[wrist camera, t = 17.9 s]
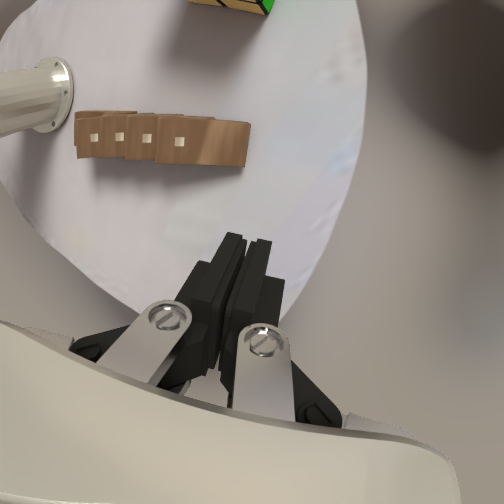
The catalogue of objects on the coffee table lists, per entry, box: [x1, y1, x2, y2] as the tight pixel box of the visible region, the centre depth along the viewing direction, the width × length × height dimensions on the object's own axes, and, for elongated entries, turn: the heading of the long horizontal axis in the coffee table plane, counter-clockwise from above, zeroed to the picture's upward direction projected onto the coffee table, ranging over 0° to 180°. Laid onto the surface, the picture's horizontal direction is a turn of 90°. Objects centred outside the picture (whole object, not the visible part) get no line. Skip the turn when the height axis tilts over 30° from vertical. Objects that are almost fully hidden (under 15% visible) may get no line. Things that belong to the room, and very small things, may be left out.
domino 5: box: [155, 117, 251, 167], centre depth 31 cm, size 2×5×10 cm
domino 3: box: [100, 114, 184, 158], centre depth 32 cm, size 2×5×10 cm
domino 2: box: [75, 113, 154, 159], centre depth 32 cm, size 2×5×10 cm
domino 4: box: [125, 115, 215, 160], centre depth 31 cm, size 2×5×10 cm
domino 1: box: [74, 111, 137, 146], centre depth 34 cm, size 2×5×10 cm
